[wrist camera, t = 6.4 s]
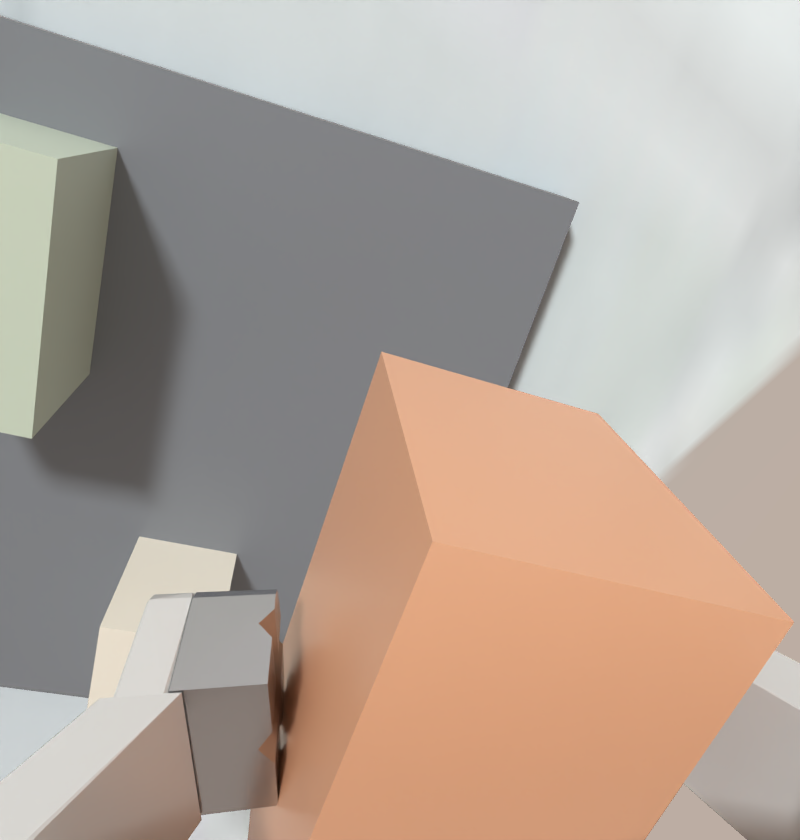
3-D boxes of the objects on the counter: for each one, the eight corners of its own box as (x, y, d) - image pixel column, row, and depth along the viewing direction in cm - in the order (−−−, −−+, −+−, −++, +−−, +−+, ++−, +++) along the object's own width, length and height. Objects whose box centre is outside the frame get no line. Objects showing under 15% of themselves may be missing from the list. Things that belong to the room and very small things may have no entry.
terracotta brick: (441, 737, 11) (503, 1044, 7) (259, 710, 10) (229, 1034, 7) (598, 413, 9) (793, 621, 5) (381, 351, 8) (431, 540, 4)
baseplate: (371, 709, 26) (373, 734, 25) (-77, 647, 23) (-96, 674, 22) (564, 197, 19) (579, 202, 18) (-59, -4, 16) (-89, -12, 14)
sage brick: (89, 374, 18) (31, 438, 15) (-30, 347, 18) (-120, 408, 14) (117, 147, 16) (57, 159, 13) (-18, 108, 16) (-122, 107, 12)
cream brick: (203, 691, 24) (181, 796, 20) (114, 679, 23) (75, 786, 19) (236, 553, 21) (218, 644, 18) (139, 536, 21) (99, 626, 17)
